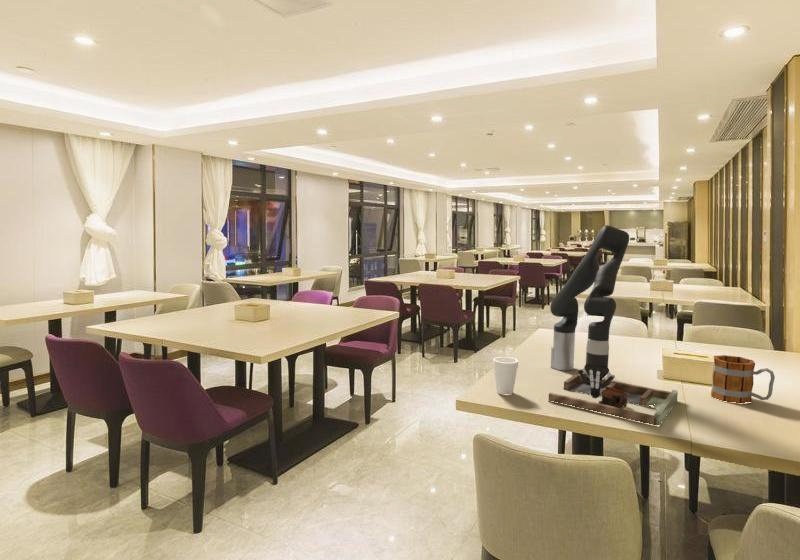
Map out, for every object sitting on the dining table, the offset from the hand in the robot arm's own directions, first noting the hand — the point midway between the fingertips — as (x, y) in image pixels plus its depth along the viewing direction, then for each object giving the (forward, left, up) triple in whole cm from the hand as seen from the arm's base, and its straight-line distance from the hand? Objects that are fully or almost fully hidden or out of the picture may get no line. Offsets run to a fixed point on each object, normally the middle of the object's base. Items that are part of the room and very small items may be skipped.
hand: (595, 397), depth 178 cm
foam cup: (-31, -11, -2) cm, 33 cm away
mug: (+41, +38, -2) cm, 56 cm away
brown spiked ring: (+7, -1, -2) cm, 8 cm away
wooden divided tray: (+4, +6, -2) cm, 8 cm away
